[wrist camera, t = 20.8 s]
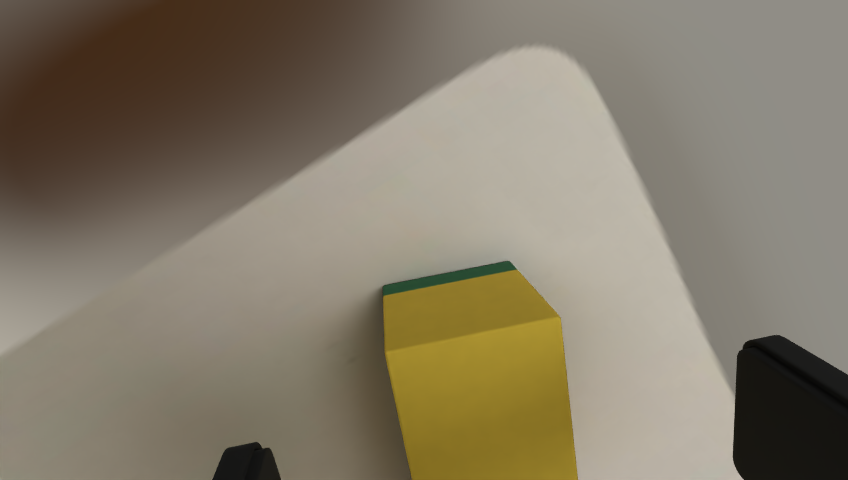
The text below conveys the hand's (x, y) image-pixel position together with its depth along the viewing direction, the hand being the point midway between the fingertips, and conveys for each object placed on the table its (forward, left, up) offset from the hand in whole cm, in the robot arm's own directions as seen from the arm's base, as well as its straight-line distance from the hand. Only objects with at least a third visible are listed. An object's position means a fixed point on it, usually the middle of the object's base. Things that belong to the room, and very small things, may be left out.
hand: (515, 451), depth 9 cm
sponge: (+3, -2, -8) cm, 9 cm away
